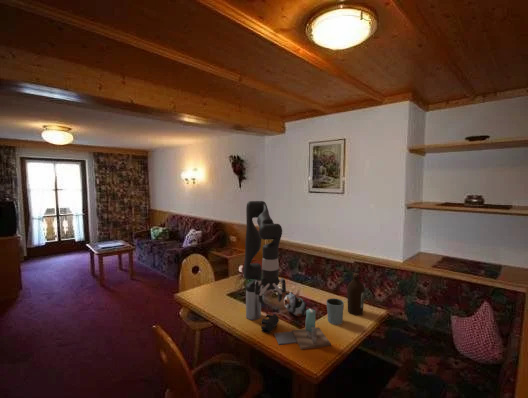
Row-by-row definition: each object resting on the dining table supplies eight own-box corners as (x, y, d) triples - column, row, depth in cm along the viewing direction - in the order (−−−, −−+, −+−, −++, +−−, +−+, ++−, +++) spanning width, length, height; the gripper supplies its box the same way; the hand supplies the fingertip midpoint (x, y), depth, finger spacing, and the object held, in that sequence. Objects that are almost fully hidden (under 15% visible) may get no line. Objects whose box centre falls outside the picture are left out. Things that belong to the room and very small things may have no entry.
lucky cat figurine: (304, 318, 171) (294, 300, 169) (288, 322, 177) (277, 304, 174) (309, 302, 185) (299, 285, 182) (293, 305, 190) (283, 289, 187)
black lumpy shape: (272, 334, 154) (272, 322, 154) (260, 332, 157) (260, 320, 156) (278, 326, 163) (279, 314, 163) (267, 323, 166) (267, 312, 166)
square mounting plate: (291, 332, 156) (291, 318, 156) (318, 329, 160) (319, 315, 159) (301, 349, 141) (301, 334, 140) (330, 345, 144) (331, 330, 143)
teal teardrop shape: (303, 325, 154) (303, 306, 153) (311, 324, 154) (312, 306, 154) (309, 334, 145) (309, 314, 144) (317, 333, 146) (318, 313, 145)
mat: (274, 334, 154) (274, 333, 154) (291, 332, 156) (291, 331, 156) (278, 344, 145) (278, 343, 145) (297, 342, 147) (297, 341, 147)
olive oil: (345, 313, 178) (346, 275, 176) (348, 306, 188) (349, 270, 186) (362, 317, 173) (363, 277, 171) (365, 310, 183) (366, 272, 181)
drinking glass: (340, 327, 162) (341, 306, 161) (323, 322, 167) (324, 302, 166) (345, 319, 171) (345, 300, 170) (329, 315, 176) (329, 296, 175)
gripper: (283, 264, 133) (283, 297, 134) (253, 265, 130) (253, 299, 131) (287, 269, 125) (287, 304, 127) (256, 271, 123) (256, 307, 124)
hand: (270, 301), depth 129 cm, fingers open, 8 cm apart
